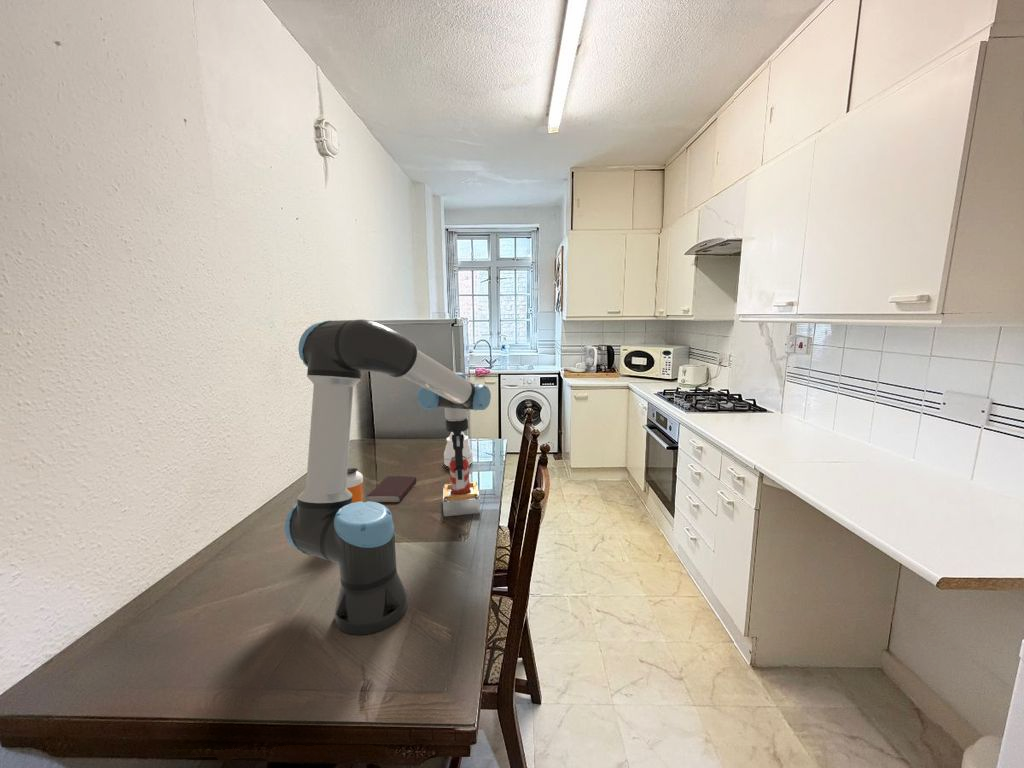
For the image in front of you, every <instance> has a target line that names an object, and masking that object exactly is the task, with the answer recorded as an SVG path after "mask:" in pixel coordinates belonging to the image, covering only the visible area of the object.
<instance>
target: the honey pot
mask: <svg viewBox="0 0 1024 768" xmlns="http://www.w3.org/2000/svg"><path fill="white" fill-rule="evenodd" d="M461 434H463V436H464V441H463V449H462V453H463V456H465V457H466V459H467V461H468V465H469V464H471V463H472V462H474V458H473V450H472V449H471V446H470V443H469V441H468V440H469V436H468V435H466V434H465V433H464V431H462V432H461ZM452 435H454V434H453V432H450V434H449V436H448V437H446V439H445V440H446V445H445V449H444V451H443V463H444V464H445V465H446V466H449V467H448V468H450V461H451V458H452V457H455V450H454V449H453V442H452ZM444 464H443V465H444ZM472 464H473V463H472ZM472 464H471V465H472ZM445 465H444V466H445ZM446 466H445V467H446ZM469 466H470V465H469Z"/></svg>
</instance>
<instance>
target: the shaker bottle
mask: <svg viewBox="0 0 1024 768" xmlns="http://www.w3.org/2000/svg"><path fill="white" fill-rule="evenodd" d="M358 470H359V468H356V467H348V468H347V482H346V488H347V489H348V490H349V491H350V492H351V493H352V503H355V502H361V501H362V502H364V495H363V494H364V490H363V482H364V477H363V476H364V475H363V473H361V472H359V471H358Z"/></svg>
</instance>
